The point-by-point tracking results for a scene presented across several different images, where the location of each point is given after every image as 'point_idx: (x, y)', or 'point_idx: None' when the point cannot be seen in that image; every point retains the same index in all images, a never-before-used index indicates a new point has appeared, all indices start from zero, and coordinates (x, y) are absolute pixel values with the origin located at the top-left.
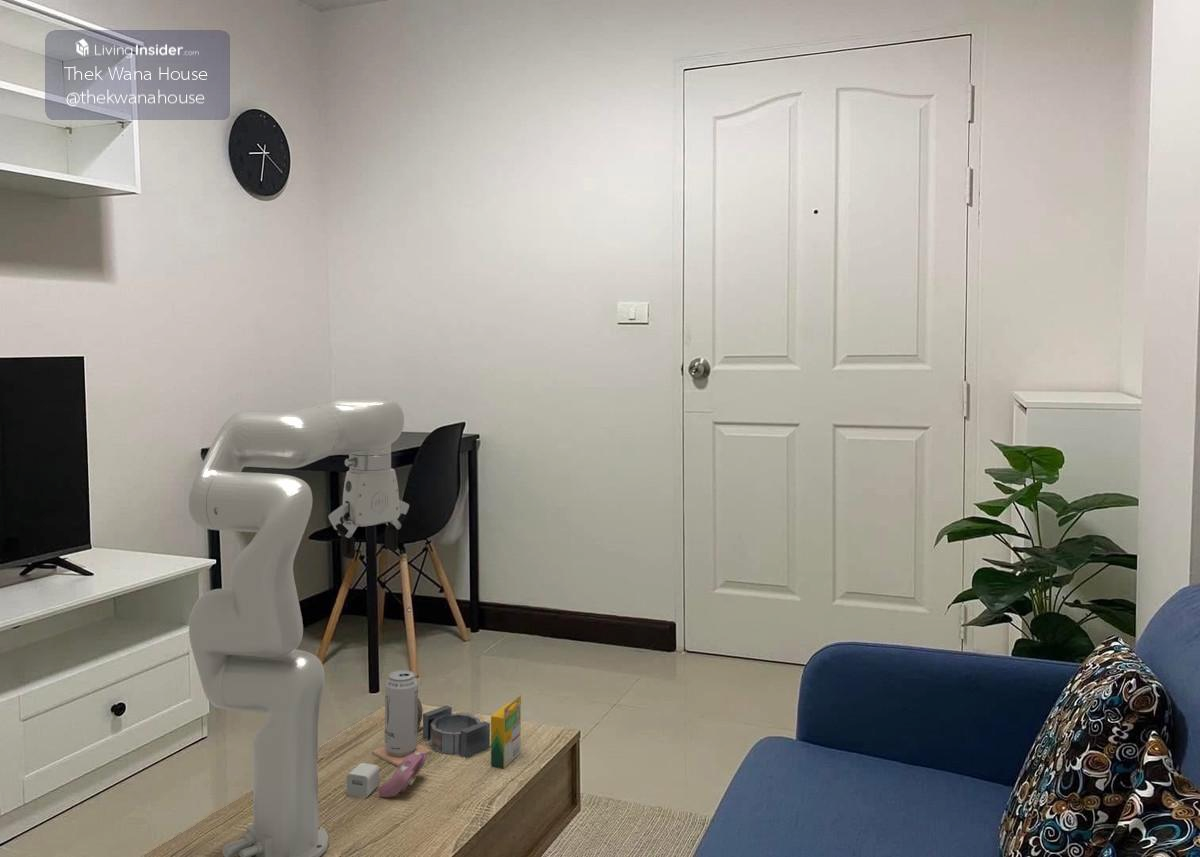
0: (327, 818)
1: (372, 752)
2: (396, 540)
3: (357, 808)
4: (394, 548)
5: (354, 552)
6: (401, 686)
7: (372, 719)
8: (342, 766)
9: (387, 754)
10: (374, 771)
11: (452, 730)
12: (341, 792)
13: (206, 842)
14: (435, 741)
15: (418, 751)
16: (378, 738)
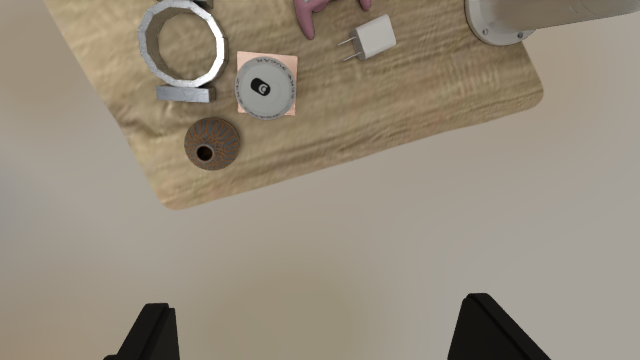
0: (437, 17)
1: (294, 113)
2: (128, 356)
3: (402, 7)
4: (169, 310)
5: (487, 316)
6: (284, 67)
7: (228, 195)
8: (340, 114)
9: None
10: (367, 23)
11: (173, 73)
12: (385, 58)
13: (529, 80)
14: (226, 53)
15: None
16: (259, 144)
